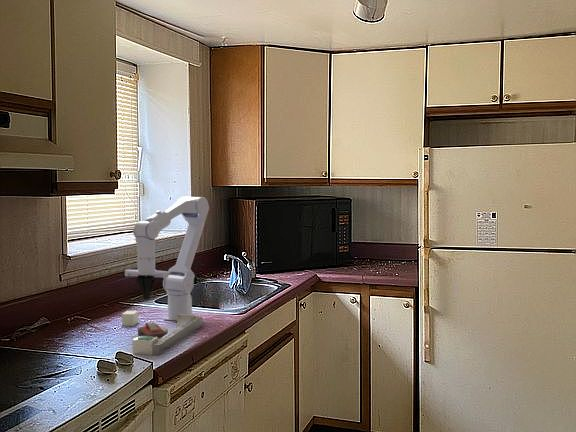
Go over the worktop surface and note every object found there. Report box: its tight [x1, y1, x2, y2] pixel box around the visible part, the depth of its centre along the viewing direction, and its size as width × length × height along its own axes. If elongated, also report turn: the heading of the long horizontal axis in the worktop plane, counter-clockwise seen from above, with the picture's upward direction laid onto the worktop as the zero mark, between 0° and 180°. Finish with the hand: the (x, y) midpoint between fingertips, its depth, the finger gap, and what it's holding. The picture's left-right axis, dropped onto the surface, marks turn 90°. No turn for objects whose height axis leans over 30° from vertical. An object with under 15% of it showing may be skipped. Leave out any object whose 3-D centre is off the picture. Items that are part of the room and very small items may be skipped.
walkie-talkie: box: [137, 322, 169, 339], centre depth 194 cm, size 9×4×20 cm
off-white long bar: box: [132, 313, 203, 356], centre depth 190 cm, size 35×8×4 cm, turn 168°
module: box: [121, 310, 139, 327], centre depth 208 cm, size 5×4×4 cm
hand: (146, 298), depth 202 cm, fingers closed
